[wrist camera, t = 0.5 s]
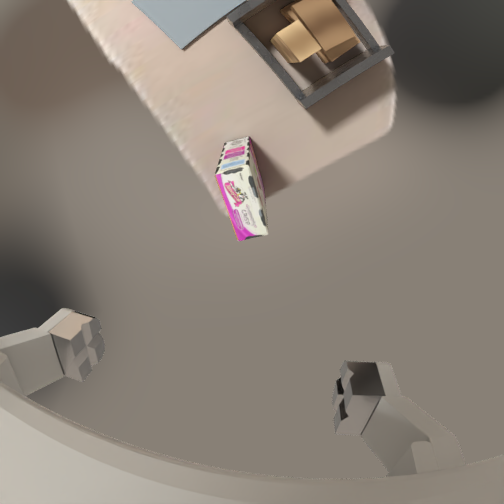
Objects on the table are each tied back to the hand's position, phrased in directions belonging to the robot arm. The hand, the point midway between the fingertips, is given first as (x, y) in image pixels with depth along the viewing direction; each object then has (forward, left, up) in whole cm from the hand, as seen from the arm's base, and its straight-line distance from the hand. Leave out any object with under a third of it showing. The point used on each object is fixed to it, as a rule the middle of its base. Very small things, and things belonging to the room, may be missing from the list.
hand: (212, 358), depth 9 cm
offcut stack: (-5, +20, -49) cm, 53 cm away
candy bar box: (+8, -6, -49) cm, 50 cm away
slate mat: (-23, +7, -49) cm, 54 cm away
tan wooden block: (-5, +13, -49) cm, 51 cm away
